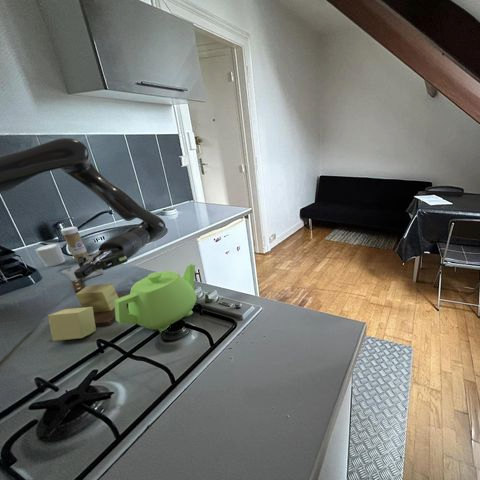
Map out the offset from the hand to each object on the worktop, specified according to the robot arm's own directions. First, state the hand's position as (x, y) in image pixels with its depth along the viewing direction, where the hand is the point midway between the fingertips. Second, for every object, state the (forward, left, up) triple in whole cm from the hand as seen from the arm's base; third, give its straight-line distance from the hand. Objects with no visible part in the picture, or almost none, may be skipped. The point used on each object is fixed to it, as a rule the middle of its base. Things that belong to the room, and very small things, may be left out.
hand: (78, 275), depth 64 cm
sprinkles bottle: (-21, +45, -12) cm, 52 cm away
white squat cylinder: (-31, +47, -12) cm, 58 cm away
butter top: (-1, -6, -6) cm, 9 cm away
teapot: (+19, -9, -12) cm, 24 cm away
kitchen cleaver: (-14, +27, -13) cm, 33 cm away
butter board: (+1, +1, -12) cm, 12 cm away
